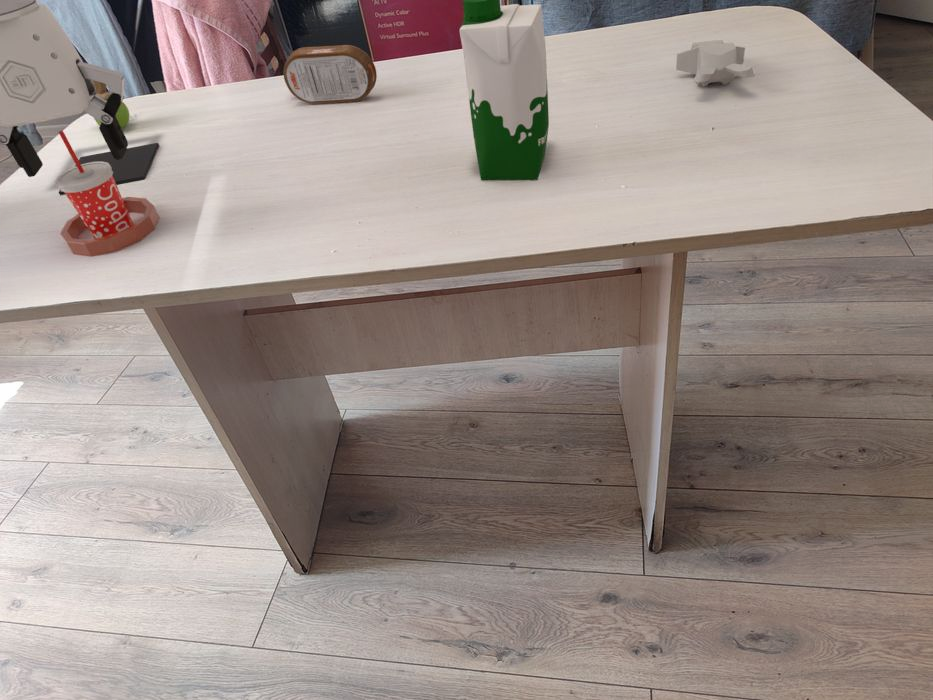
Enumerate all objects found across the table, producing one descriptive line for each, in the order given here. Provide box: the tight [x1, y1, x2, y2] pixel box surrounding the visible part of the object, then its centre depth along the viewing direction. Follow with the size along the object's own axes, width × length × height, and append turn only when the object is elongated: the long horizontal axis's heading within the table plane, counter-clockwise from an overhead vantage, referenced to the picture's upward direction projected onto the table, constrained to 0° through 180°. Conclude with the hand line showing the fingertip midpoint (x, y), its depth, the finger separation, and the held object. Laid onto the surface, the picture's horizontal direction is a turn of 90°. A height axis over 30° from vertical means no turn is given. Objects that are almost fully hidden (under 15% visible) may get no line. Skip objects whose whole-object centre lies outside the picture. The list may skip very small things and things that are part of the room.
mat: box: [58, 142, 160, 196], centre depth 100 cm, size 12×12×1 cm
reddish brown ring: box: [59, 196, 160, 258], centre depth 83 cm, size 11×11×3 cm
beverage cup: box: [55, 130, 134, 239], centre depth 79 cm, size 6×6×14 cm
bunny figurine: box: [675, 39, 755, 87], centre depth 97 cm, size 10×5×15 cm
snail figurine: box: [93, 81, 130, 130], centre depth 109 cm, size 5×6×12 cm
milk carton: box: [458, 0, 550, 181], centre depth 79 cm, size 9×9×20 cm
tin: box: [282, 44, 378, 105], centre depth 108 cm, size 15×3×8 cm, turn 80°
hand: (79, 163), depth 77 cm, fingers open, 9 cm apart
